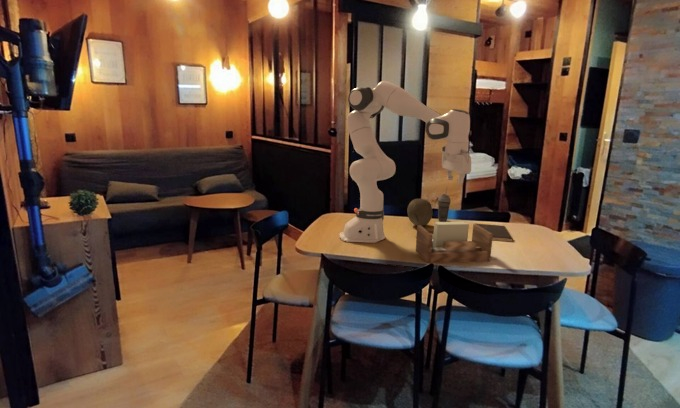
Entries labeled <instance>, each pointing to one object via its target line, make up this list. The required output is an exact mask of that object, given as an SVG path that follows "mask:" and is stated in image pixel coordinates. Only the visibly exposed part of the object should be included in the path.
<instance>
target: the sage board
mask: <svg viewBox="0 0 680 408" xmlns="http://www.w3.org/2000/svg"><path fill="white" fill-rule="evenodd" d="M469 227H470V224H469V223H468V222H466V221H446V222H440V221H434V224H433V234H432V242H433V248H437V247H443V243H444V242H455V241H468V239H469Z"/></svg>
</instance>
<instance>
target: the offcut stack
mask: <svg viewBox="0 0 680 408" xmlns="http://www.w3.org/2000/svg"><path fill="white" fill-rule="evenodd" d="M475 249H476V243H475V242H473V241H472V240H469V241H468V240H467V241H455V242H444V243H443V247H437V248H433V252H473V251H475Z"/></svg>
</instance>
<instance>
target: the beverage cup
mask: <svg viewBox="0 0 680 408" xmlns="http://www.w3.org/2000/svg"><path fill="white" fill-rule="evenodd" d="M447 191H448V187H445V193H444V194H440V195H439V197H438V198H437V207H438V209H437V211H438V213H437V217H438V222H448V216H449V211H450V206H451V197H450V195H448V194H447V193H448V192H447Z"/></svg>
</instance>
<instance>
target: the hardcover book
mask: <svg viewBox="0 0 680 408" xmlns="http://www.w3.org/2000/svg"><path fill="white" fill-rule="evenodd" d="M476 224H477V225H479V226H480V227H482V228H484V229H485V230H487V231H489V232H490V233H492V234H493V238H492V241H501V242H502V241H503V242H511V243H512V242H514V238H513V236H512V235H511V233H510V232H509V230H508V229H507V227H506V226H505V225H500V224H497V225H496V224H485V223H484V224H483V223H476Z"/></svg>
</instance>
